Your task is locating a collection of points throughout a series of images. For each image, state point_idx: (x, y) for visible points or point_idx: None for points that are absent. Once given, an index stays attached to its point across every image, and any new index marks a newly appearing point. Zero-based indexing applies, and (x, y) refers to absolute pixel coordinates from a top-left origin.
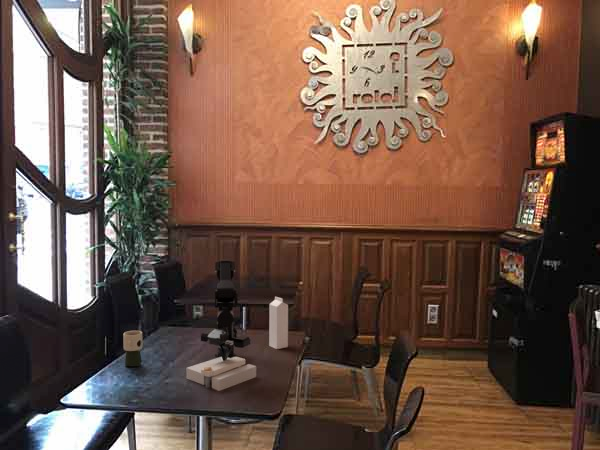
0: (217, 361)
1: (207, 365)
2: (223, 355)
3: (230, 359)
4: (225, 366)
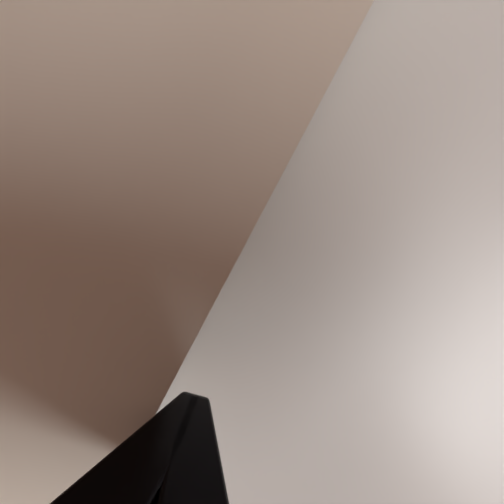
0: (366, 488)
1: (492, 313)
2: (158, 500)
3: (80, 455)
4: None
